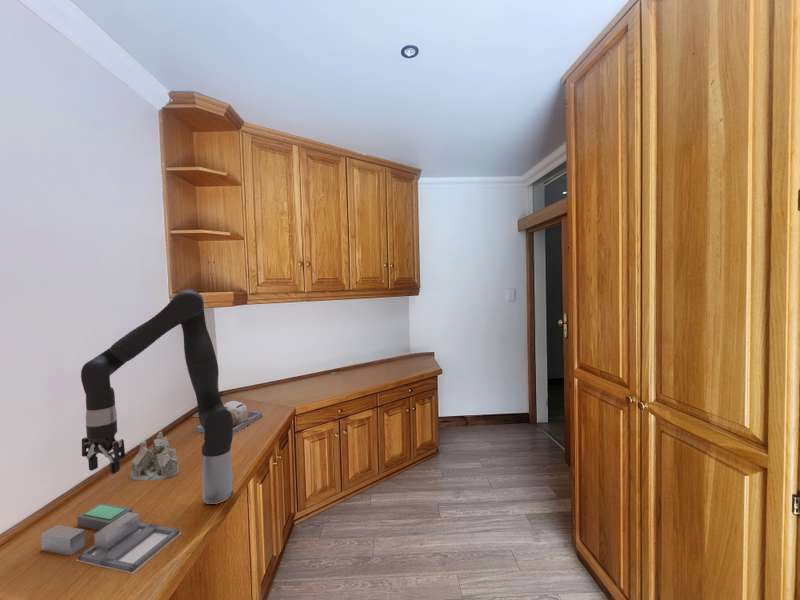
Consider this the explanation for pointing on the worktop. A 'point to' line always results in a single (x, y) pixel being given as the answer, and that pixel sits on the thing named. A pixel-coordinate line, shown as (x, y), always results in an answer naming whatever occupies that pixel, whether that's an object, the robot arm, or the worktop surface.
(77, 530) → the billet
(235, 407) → the coin bank
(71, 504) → the worktop surface
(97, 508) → the button
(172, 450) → the ceramic cottage
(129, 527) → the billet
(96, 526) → the box
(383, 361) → the worktop surface
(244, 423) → the coin bank tray
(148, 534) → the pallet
